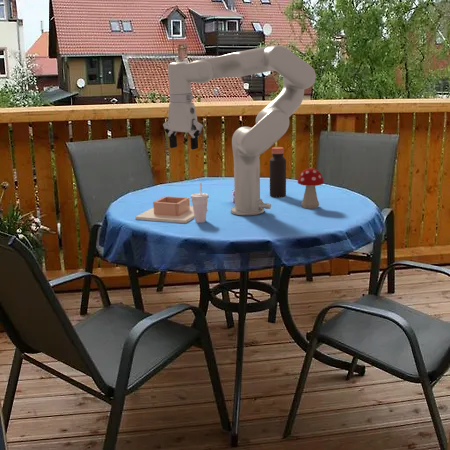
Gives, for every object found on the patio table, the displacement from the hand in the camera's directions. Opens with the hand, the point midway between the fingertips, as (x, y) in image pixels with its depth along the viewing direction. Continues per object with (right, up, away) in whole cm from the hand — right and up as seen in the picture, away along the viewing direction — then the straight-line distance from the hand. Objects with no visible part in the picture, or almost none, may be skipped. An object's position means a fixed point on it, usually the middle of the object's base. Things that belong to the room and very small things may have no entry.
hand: (184, 148), depth 213 cm
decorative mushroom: (+47, -21, +17) cm, 54 cm away
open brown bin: (-5, -23, +11) cm, 26 cm away
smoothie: (+6, -26, +1) cm, 27 cm away
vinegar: (+37, -15, +36) cm, 54 cm away
